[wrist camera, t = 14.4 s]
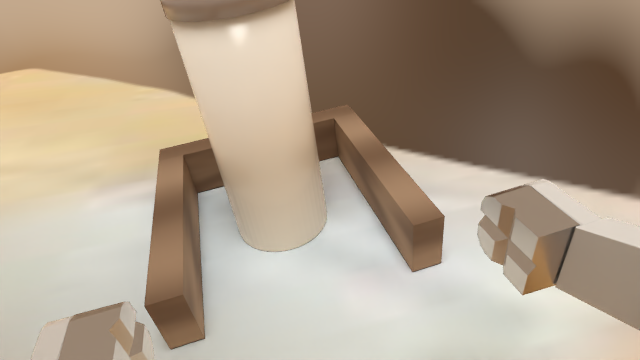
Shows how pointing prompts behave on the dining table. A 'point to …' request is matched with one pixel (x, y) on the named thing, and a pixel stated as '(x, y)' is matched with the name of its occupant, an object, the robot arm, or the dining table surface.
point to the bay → (203, 174)
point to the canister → (255, 113)
